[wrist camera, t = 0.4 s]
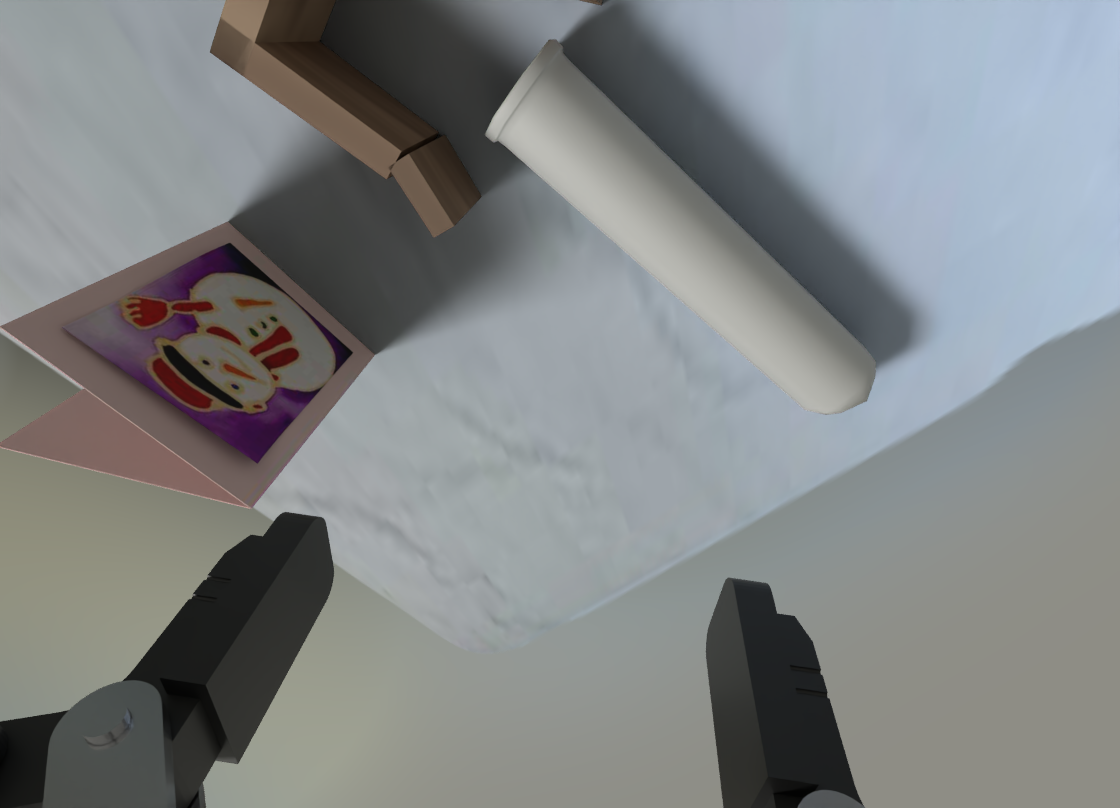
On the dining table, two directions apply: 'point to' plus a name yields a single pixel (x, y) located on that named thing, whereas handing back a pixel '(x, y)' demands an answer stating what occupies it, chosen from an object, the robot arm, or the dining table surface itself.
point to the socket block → (344, 102)
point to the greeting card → (189, 370)
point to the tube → (678, 233)
